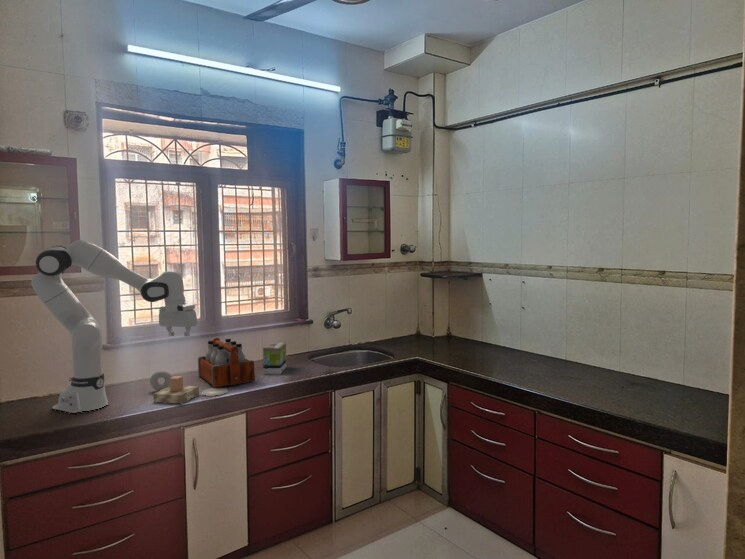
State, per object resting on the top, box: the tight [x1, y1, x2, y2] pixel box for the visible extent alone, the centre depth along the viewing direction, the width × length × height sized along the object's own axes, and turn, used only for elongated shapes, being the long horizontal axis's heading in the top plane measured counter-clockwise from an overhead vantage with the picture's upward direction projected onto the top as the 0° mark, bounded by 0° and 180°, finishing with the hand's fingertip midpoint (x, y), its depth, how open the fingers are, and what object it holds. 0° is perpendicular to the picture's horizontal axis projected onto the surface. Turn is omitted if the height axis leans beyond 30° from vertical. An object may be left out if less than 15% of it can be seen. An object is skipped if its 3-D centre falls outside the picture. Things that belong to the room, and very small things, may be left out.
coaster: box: [200, 387, 228, 397], centre depth 240 cm, size 12×12×1 cm
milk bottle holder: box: [197, 337, 256, 388], centre depth 262 cm, size 21×35×19 cm, turn 33°
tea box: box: [262, 342, 287, 375], centre depth 278 cm, size 15×10×15 cm
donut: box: [149, 369, 173, 392], centre depth 243 cm, size 10×4×10 cm, turn 108°
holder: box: [152, 385, 200, 405], centre depth 231 cm, size 14×14×4 cm
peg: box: [170, 375, 184, 392], centre depth 231 cm, size 4×4×10 cm
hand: (179, 336), depth 230 cm, fingers open, 8 cm apart
